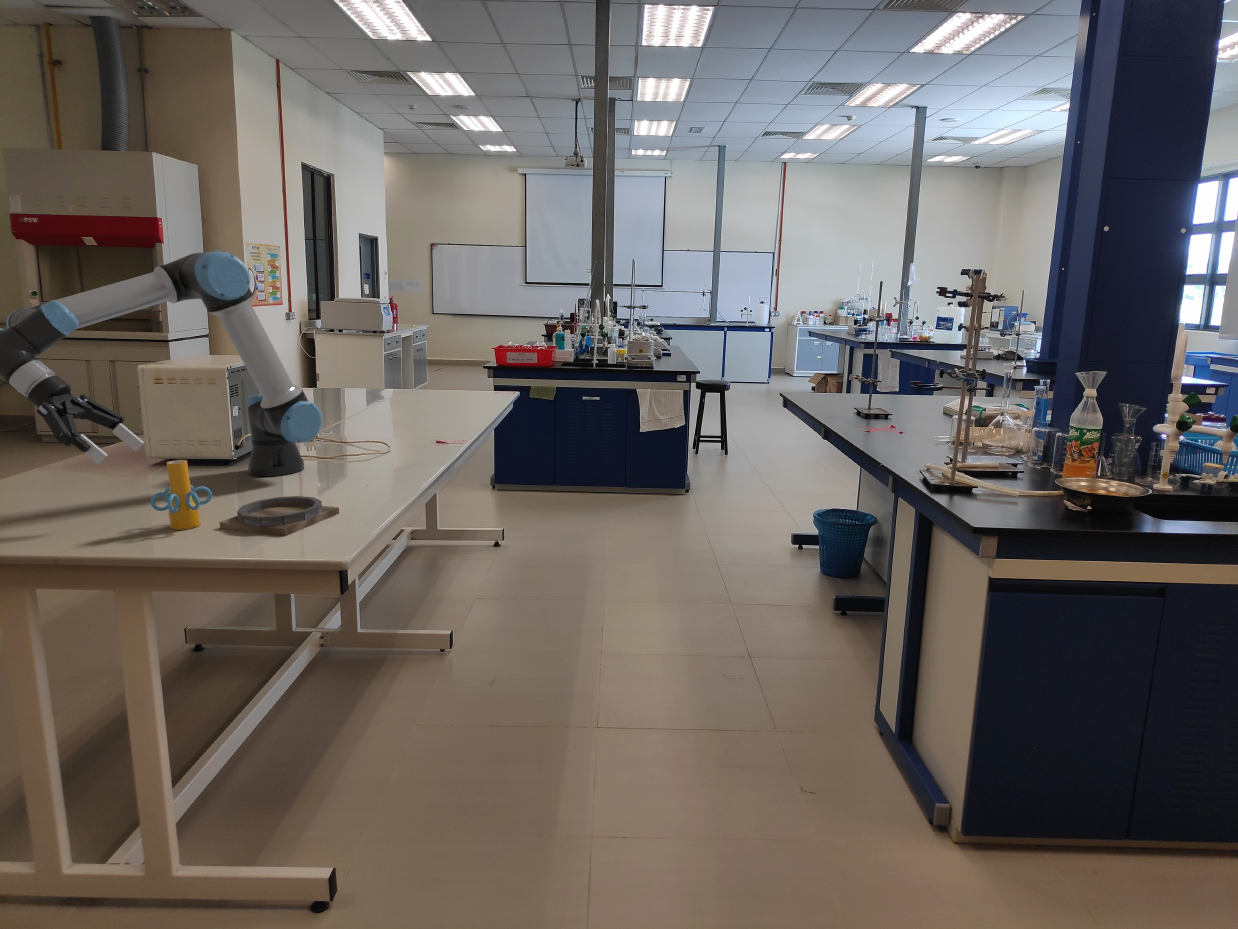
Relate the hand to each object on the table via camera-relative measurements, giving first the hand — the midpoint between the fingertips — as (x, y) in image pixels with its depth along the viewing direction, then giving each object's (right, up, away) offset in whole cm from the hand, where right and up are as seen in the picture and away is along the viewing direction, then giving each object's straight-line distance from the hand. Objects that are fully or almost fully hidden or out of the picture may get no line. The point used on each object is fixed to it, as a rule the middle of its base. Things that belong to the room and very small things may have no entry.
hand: (122, 453), depth 174 cm
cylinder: (+12, -17, +4) cm, 21 cm away
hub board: (+32, -15, +8) cm, 36 cm away
